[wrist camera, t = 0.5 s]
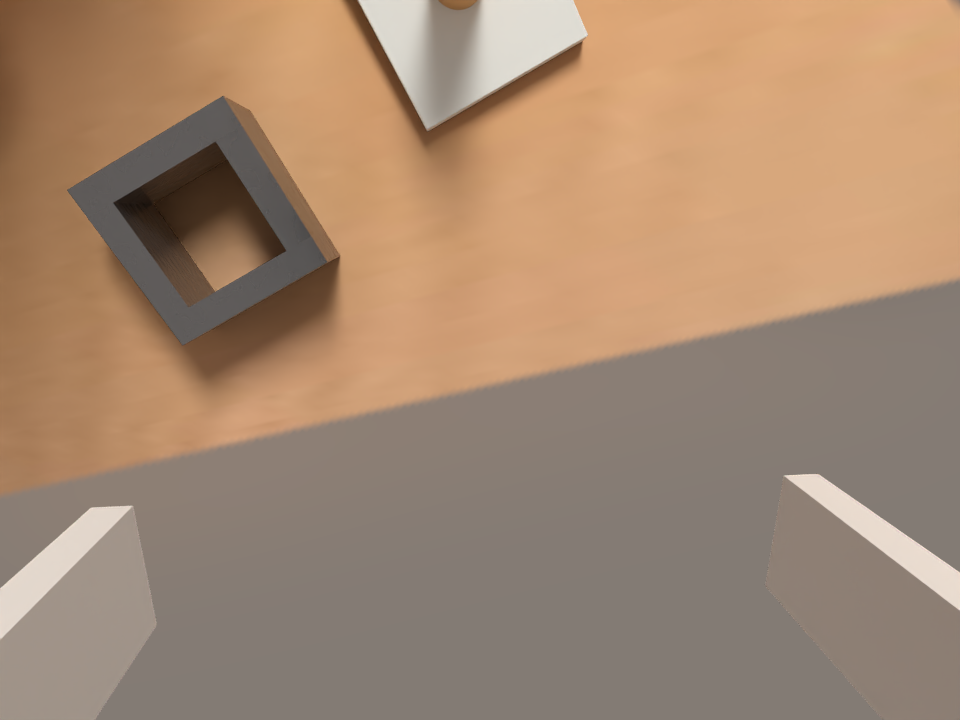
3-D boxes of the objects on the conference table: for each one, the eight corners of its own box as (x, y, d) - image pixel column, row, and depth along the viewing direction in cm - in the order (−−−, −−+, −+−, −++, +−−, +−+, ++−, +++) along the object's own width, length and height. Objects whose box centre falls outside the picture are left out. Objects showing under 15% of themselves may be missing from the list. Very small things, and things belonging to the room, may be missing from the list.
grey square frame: (113, 192, 30) (66, 189, 27) (250, 110, 30) (222, 95, 26) (212, 329, 33) (182, 345, 29) (340, 255, 32) (327, 262, 28)
